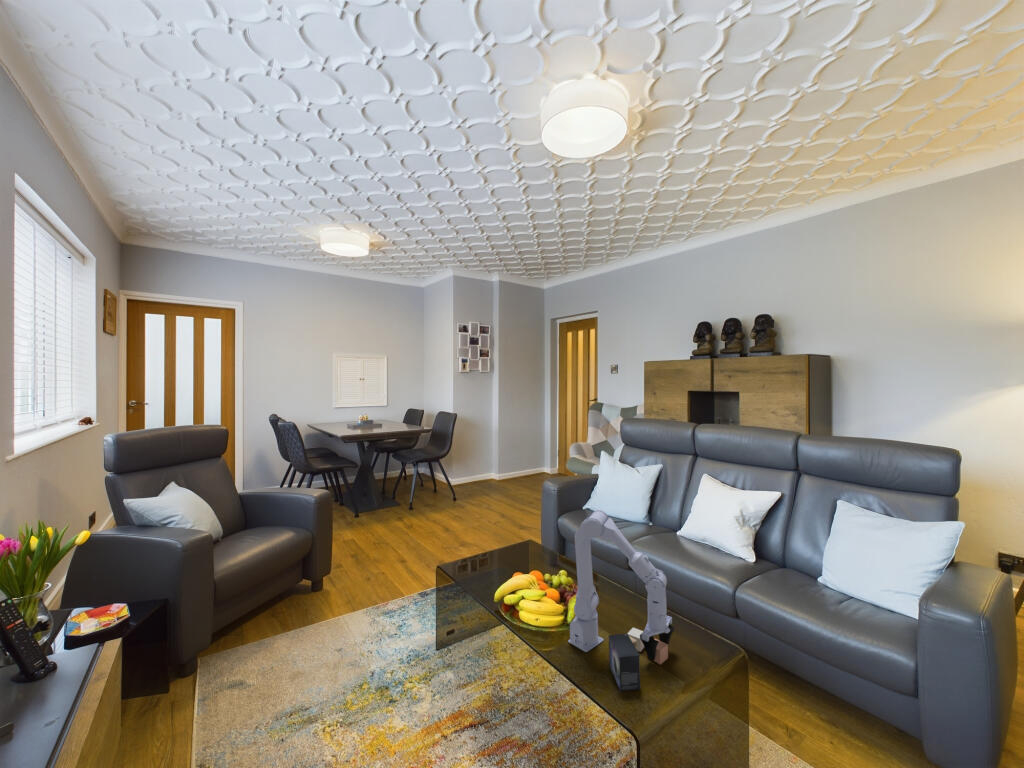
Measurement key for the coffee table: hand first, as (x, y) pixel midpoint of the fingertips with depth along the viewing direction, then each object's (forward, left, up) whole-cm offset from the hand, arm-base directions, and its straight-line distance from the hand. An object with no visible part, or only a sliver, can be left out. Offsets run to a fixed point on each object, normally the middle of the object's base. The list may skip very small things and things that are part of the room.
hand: (657, 653), depth 142 cm
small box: (-16, +2, -2) cm, 16 cm away
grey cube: (0, +8, -2) cm, 8 cm away
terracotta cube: (0, 0, -2) cm, 2 cm away
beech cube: (-5, +8, -2) cm, 10 cm away
